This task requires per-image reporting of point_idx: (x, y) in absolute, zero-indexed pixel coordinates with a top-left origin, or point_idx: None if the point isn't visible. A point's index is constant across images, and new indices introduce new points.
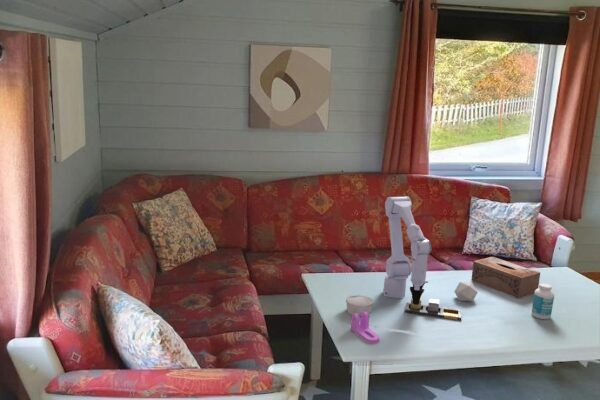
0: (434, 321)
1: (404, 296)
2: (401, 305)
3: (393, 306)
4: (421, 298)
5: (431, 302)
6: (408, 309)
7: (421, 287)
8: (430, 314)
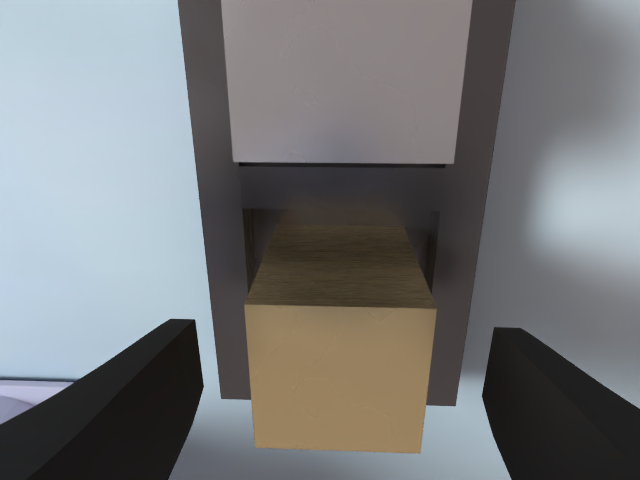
0: (582, 17)
1: (2, 401)
2: (217, 401)
3: (275, 459)
4: (292, 306)
5: (451, 101)
6: (436, 373)
7: (69, 474)
8: (495, 87)
